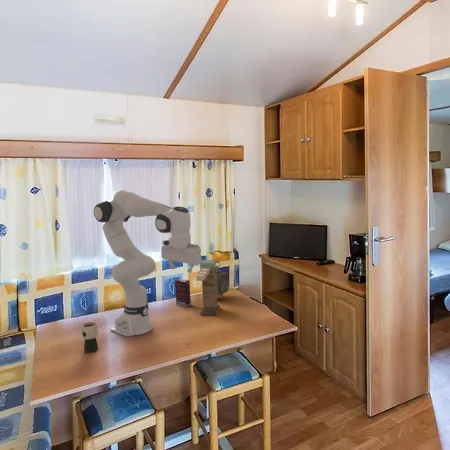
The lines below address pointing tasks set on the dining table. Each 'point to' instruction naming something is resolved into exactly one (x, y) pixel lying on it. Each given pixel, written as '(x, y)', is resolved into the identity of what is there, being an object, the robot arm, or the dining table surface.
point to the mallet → (205, 269)
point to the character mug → (89, 336)
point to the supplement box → (182, 292)
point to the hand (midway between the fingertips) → (181, 270)
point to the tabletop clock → (221, 282)
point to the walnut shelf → (210, 295)
